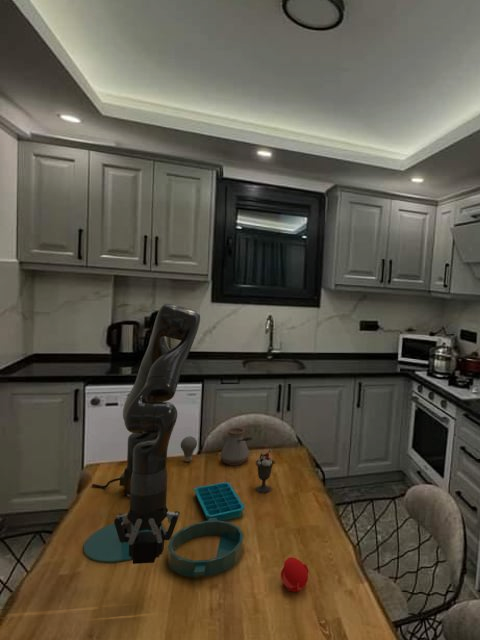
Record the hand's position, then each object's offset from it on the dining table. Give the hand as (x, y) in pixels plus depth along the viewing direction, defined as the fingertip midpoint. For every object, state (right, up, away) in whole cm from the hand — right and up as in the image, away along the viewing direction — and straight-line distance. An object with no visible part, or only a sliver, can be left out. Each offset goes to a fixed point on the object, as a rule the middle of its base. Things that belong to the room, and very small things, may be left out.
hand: (146, 555), depth 101 cm
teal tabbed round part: (+8, -8, +15) cm, 19 cm away
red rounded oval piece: (+34, -11, +7) cm, 36 cm away
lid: (-15, -5, +18) cm, 24 cm away
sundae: (+14, -6, +53) cm, 55 cm away
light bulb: (-21, -1, +71) cm, 74 cm away
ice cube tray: (+3, -6, +39) cm, 40 cm away
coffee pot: (0, -3, +70) cm, 70 cm away
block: (0, 0, 0) cm, 0 cm away
